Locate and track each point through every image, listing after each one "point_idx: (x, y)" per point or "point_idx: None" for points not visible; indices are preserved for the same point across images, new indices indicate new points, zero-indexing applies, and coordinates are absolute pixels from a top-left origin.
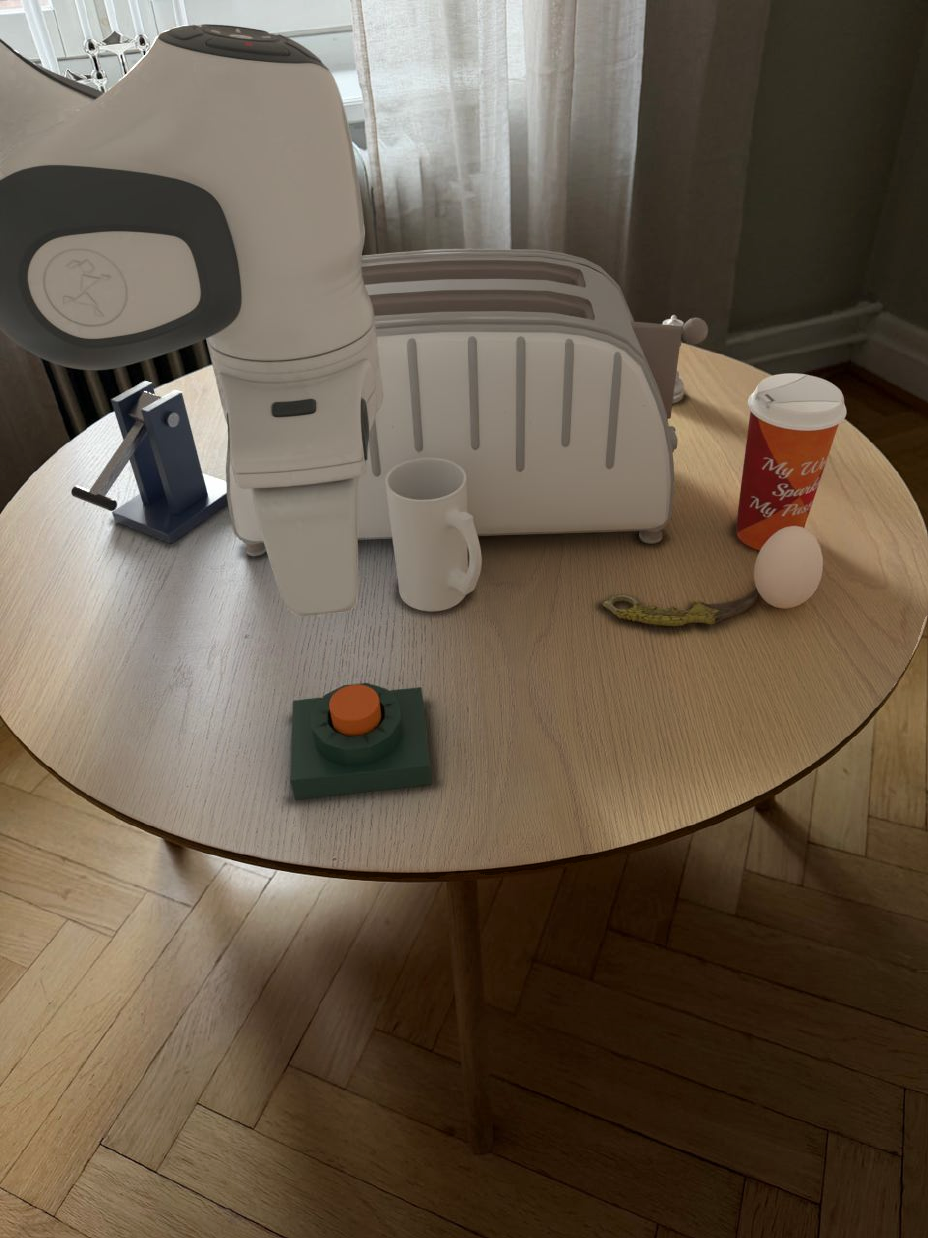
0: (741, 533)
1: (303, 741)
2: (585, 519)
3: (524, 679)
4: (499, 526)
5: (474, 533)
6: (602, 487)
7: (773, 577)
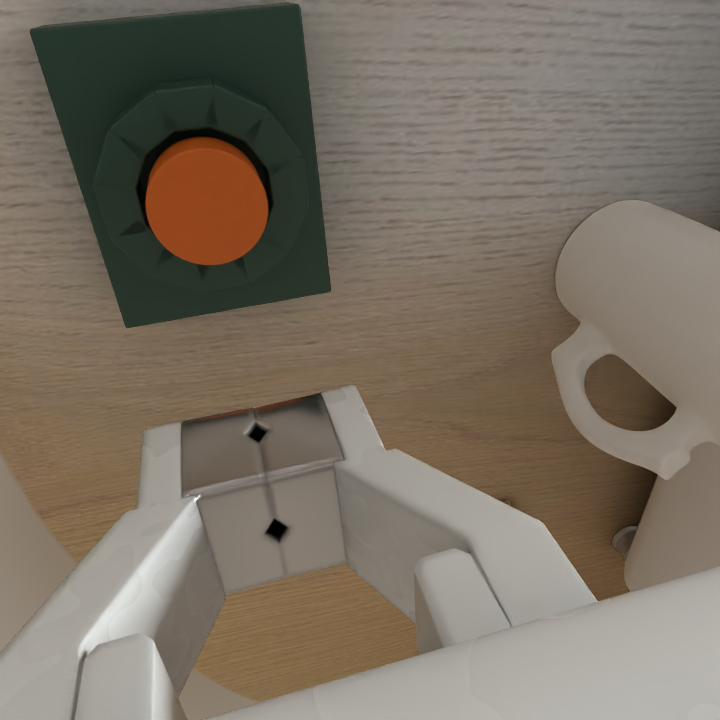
0: None
1: (163, 51)
2: (662, 513)
3: (373, 416)
4: None
5: (629, 461)
6: None
7: None
